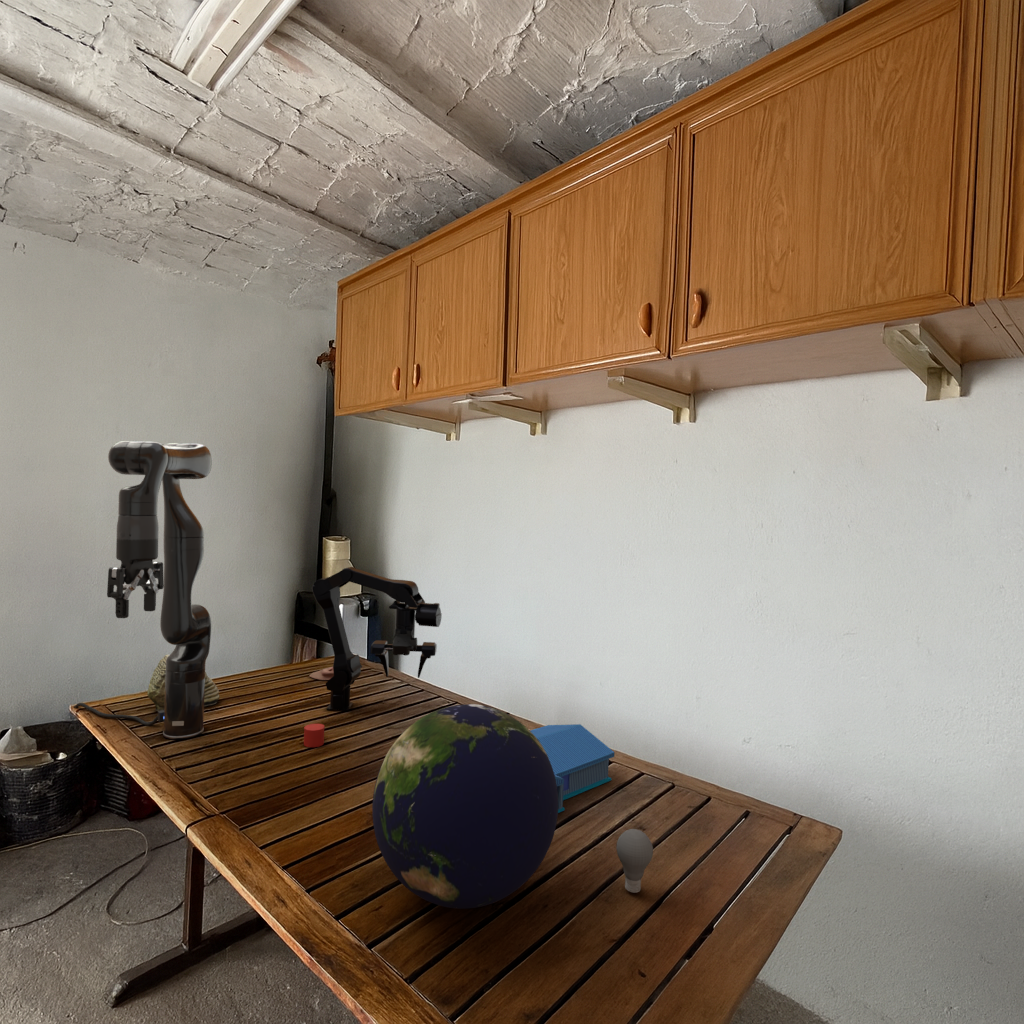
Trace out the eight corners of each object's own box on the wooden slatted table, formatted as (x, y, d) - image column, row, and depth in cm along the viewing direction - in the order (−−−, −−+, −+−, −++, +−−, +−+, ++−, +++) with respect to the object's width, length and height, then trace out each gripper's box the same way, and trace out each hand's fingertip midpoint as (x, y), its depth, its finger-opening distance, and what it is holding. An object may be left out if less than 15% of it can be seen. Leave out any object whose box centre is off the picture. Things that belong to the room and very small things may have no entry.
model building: (493, 841, 119) (496, 788, 119) (420, 792, 137) (422, 747, 137) (623, 784, 145) (625, 741, 145) (547, 750, 164) (548, 712, 163)
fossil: (144, 707, 182) (145, 655, 182) (212, 696, 194) (213, 647, 194) (151, 716, 175) (153, 662, 175) (221, 703, 188) (223, 653, 188)
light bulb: (610, 879, 108) (613, 822, 108) (644, 879, 109) (647, 822, 109) (619, 902, 102) (622, 840, 102) (655, 901, 103) (658, 840, 103)
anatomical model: (305, 666, 217) (321, 658, 228) (304, 678, 217) (321, 669, 229) (340, 670, 215) (355, 662, 226) (340, 682, 215) (355, 673, 226)
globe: (328, 919, 95) (336, 721, 95) (427, 827, 123) (434, 674, 122) (512, 985, 84) (522, 760, 83) (576, 867, 112) (584, 698, 111)
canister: (299, 744, 161) (300, 727, 161) (313, 738, 165) (314, 722, 165) (314, 748, 158) (314, 731, 158) (327, 742, 163) (328, 725, 163)
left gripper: (131, 539, 125) (130, 621, 125) (175, 535, 139) (174, 609, 139) (95, 538, 125) (94, 619, 126) (143, 534, 140) (141, 608, 140)
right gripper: (368, 628, 178) (365, 684, 178) (434, 631, 179) (432, 686, 179) (375, 621, 189) (372, 673, 189) (437, 623, 190) (435, 675, 190)
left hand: (136, 614), depth 132 cm, fingers open, 8 cm apart
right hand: (402, 677), depth 187 cm, fingers open, 9 cm apart
